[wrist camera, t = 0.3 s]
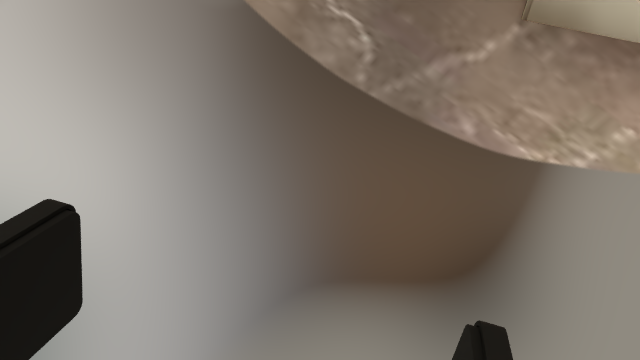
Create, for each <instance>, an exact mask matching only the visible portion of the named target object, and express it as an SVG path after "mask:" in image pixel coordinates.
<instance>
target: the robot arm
mask: <svg viewBox="0 0 640 360" xmlns="http://www.w3.org/2000/svg"><path fill="white" fill-rule="evenodd" d="M81 306H82V264H81V227H80V216H79V214H78V213H76V210H75V208H74V207H73V206H72V205H70V204H66V203H63V202H59V201H56V200H52V199H47V200H43V201H42V202H40V203H38V204H36V205H35V206H33V207H31V208H29V209H27V210H25V211H24V212H22V213H20V214H18V215H16V216H14V217H13V218H11V219H9V220H7V221H5V222H4V223H2V224H0V360H29V359H30V358H31V357H32V356H33V355H34V354H35V353H36V352H37V351H39V350H40V349H41V348H42V347H43V346H44V345H45V344H46V343H47V342H48V341H49V340H51V339H52V338H53V337H54V336H55V335H56V334H57V333H58V332H59V331H60V330H61V329H62V328H63V327H64V326H66V324H68V323H69V322H70V321H71V320H72V319H73V318H74V317H75V316H76V315H77V314H78V312H79V310H80V308H81ZM452 360H513V358H512V353H511V349H510V344H509V340H508V336H507V332H506V329H505V328H504V327H500V326H497V325H494V324H490V323H486V322H483V321H477V322H476V323H475V325H474V326H472V325H469V324H467V325H466V326H465V328H464V331H463V333H462V336H461V338H460V341H459V343H458V346H457V348H456V351H455V353H454V356H453V358H452Z"/></svg>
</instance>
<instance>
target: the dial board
mask: <svg viewBox="0 0 640 360" xmlns="http://www.w3.org/2000/svg"><path fill="white" fill-rule="evenodd" d="M521 19H523V20H526V21H531V22H536V23H541V24H546V25H551V26H556V27H561V28H566V29H571V30H576V31H581V32H586V33H591V34H596V35H601V36H607V37H612V38H617V39H622V40H627V41H632V42H637V43H640V0H527V3H526V6H525V9H524V12H523V15H522V18H521Z"/></svg>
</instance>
